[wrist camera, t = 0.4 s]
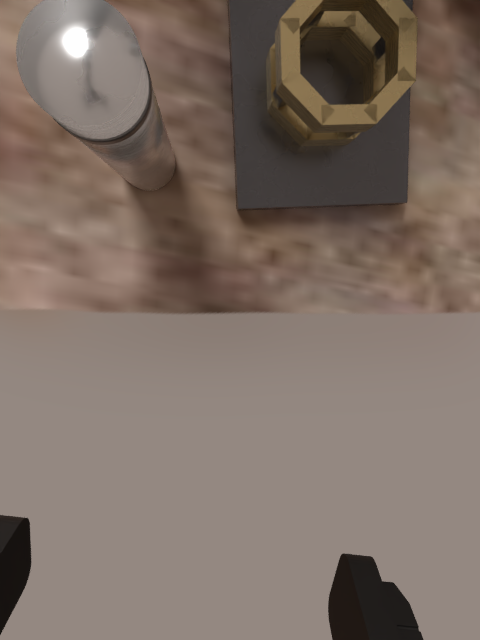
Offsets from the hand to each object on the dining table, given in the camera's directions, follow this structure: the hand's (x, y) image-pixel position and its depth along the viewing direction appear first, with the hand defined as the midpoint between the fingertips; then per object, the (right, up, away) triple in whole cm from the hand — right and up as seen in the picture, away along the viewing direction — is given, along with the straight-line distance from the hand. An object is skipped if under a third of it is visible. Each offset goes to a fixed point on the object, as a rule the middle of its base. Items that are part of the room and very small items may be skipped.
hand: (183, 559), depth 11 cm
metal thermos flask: (-6, +19, +23) cm, 30 cm away
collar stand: (+8, +25, +23) cm, 35 cm away
